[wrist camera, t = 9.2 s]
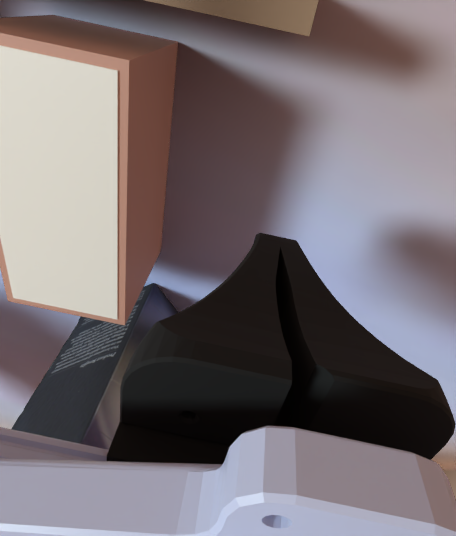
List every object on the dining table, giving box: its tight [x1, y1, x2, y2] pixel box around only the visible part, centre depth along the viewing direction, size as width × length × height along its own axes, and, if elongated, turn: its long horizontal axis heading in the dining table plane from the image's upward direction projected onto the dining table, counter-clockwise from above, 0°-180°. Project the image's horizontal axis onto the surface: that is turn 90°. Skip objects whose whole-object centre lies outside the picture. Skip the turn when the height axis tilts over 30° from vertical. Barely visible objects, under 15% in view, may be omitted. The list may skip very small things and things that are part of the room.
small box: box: [12, 283, 178, 450], centre depth 21 cm, size 11×6×10 cm, turn 30°
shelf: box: [145, 0, 319, 36], centre depth 15 cm, size 17×14×5 cm
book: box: [0, 15, 178, 325], centre depth 15 cm, size 5×10×6 cm, turn 170°
